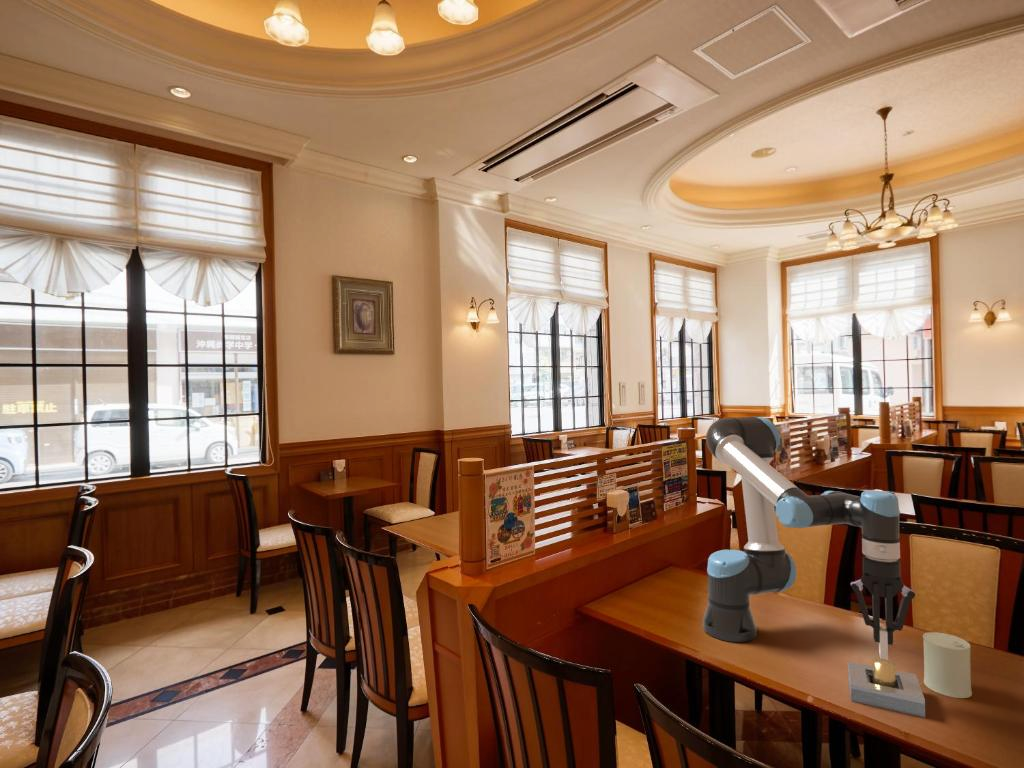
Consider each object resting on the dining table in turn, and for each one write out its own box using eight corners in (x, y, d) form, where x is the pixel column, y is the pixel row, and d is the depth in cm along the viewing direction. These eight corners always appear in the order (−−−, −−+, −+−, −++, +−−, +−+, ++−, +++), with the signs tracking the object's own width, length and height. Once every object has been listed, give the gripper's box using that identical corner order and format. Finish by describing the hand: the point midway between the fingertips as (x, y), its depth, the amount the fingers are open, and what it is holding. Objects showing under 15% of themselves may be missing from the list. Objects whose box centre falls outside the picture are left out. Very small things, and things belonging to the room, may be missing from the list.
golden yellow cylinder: (874, 698, 128) (874, 664, 128) (872, 689, 132) (871, 656, 132) (897, 703, 126) (896, 668, 126) (894, 693, 130) (893, 660, 130)
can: (957, 702, 126) (956, 650, 126) (915, 682, 135) (914, 634, 135) (980, 692, 130) (979, 642, 130) (937, 674, 138) (936, 627, 138)
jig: (851, 701, 127) (850, 684, 127) (848, 676, 138) (847, 661, 138) (925, 717, 121) (924, 699, 121) (916, 690, 131) (915, 674, 131)
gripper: (850, 558, 129) (852, 657, 129) (917, 565, 123) (920, 670, 123) (848, 549, 136) (850, 644, 136) (912, 556, 130) (914, 655, 129)
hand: (883, 656), depth 129 cm, fingers closed
